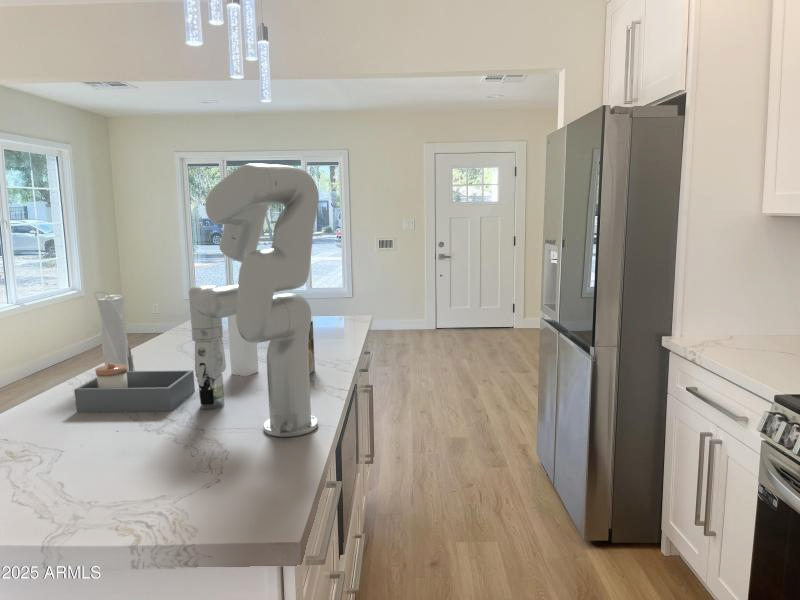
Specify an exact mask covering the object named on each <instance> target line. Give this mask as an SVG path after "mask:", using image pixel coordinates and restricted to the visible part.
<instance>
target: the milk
mask: <svg viewBox="0 0 800 600" xmlns="http://www.w3.org/2000/svg"><path fill="white" fill-rule="evenodd" d="M227 328H228V329H227V331H228V332H227V333H228V341H229V342H228V344H229V359H230V360H229V361H230V373H231V375H232V374H233V376H239V375H240V376H241V377H247V376H250V374H251V375H253V374H255V373H259V358H258V357H259V356H258V355H259V354H258V343H250V342H247V341H246V340H244V339H243V338H242V337H241V335H240V333H239V331H238V328H237V323H236V315H231V316H228V317H227Z"/></svg>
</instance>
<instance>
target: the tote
mask: <svg viewBox="0 0 800 600" xmlns="http://www.w3.org/2000/svg"><path fill="white" fill-rule="evenodd" d="M194 375H195V374H194V370H191V369H190V370H189V369H188V370H186V369H185V370H135V371H127V383H128V388H98V382H97V376H96V377H95V378H93V379H91V380H89V381H87V382H85V383H84V384H81V385H80V386H78V387H76V388H74V399H75V407H76V408H75V409H76V413H77V414H78V413H140V412H141V413H150V412H151V413H152V412H153V413H155V412H156V413H161V412H163V413H164V412H171V413H172V412H173V411H174V410H175V409H176V408H177V407H179V406H180V405H181V404H182V403H183V402H185V400H187V399H188V398H190V396H192V394H194V393H195V392H196V388H195V376H194Z"/></svg>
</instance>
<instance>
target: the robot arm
mask: <svg viewBox="0 0 800 600" xmlns="http://www.w3.org/2000/svg"><path fill="white" fill-rule="evenodd" d="M319 202H320V195H319V189H318V187H317V183H316V182H315V180H314V178H313V177H312V175H311V174H309V173H308V172H307V171H306V170H304V169H302V168H300V167H295V166H292V165H285V164H269V163H255V162H254V163H253V162H252V163H251V162H250V163H246V164H243V165H241V166H239V167H238V168H236V169H234V170H233V171H232V172H230V173H229V174H228V175H227V176H225V177H224V178H223V179H221V180H220V181H219V182H218V183H216V184H215V185H214V186H213V188H212V189H211V190H210V191H209V193H208V195H207V197H206V200H205V213H206V216H207V217H208V219H209V221H211V222H212V223H213V224H216V225H223V230H222V234H221V238H220V241H219V250H220V252H221V253H222V254H223V255H224V256H226V257H227V258H229V259H232V260H233V261H236V262H238V263H240V268H239V273H238V281H237V284H231V285H224V286H217V285H214V284H201V285H200V284H199V285H194V286H191V287H190V289H189V291H188V298H189V312H190V324H191V325H190V326H191V337H192V338H191V339H192V341H193V342H194V366H195V368H194V369H195V376H196V381H197V384H198V391H199V390H200V395H199V398H200V397H201V404H202V405H213V404H214V395H213V389H212V378H213V379H215V378H217V377H218V376H219V375H220V374H223V373H224V372H225V370H226V368H227V364H226V356H225V355H226V354H225V347H224V341H223V338H224V332H223V321H222V320H223V318H226V317H227V318H228V316H231V315H236V323H237V328H238V331H239V333H240V335H241V337H242V338H243V339H244V340H246V341H247V342H250V343H257V344H260V343H264V342H269V343H268V345H267V350H266V375H267V378H266V379H267V391H268V392H267V393H268V408H269V411H268V412H269V414H268V415H269V419H266V421H264V423H263V425H262V427H263V431H264V432H265V433H266V434H267V435H269V436H271V437H272V436H273V437H280V438H289V437H290V438H291V437H292V438H293V437H298V436H302V435H306V434H309V433H311V432H313V431H314V430H316V428H318V425H319V420H318V418H317V417H316V416H314V415H312V407H311V406H312V405H311V385H310V381H311V380H310V375H309V354H308V340H309V331H310V324H311V321H312V309H311V306H310V303H309V302H308V301H307V299H306V298H305V297H304V296H302V295H300V294H298V293H294V292H293V293H292V292H291V293H290V292H289V293H283V292H286V291H292V290H296V289H299V288H301V287H304V285H305V284H306V283H307V282H308V279H309V275H310V269H311V268H310V267H311V259H312V257H311V256H312V249H313V240H314V239H313V238H314V237H313V236H314V228H315V223H316V219H317V214H318V209H319V204H320V203H319ZM269 205H272V206H273V205H274V206H275V205H282V206H283V207H284V208H283V209H282V210H281V212H280V213H279V215H278V217H277V219H276V220H275V224H274V226H273V227H274V228H273V237H272V244H271V247H270V248H264V249H258V246H259V242H260V239H261V234H262V231H263V228H264V224H265V220H266V215H267V212H268V209H269V208H268V207H269ZM281 292H282V293H281ZM276 293H280V294H276ZM274 294H275V295H274ZM207 375H208V376H209V377H207V378H204V377H205V376H207ZM205 380H208V383H207V382H205Z"/></svg>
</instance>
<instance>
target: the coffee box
mask: <svg viewBox="0 0 800 600" xmlns="http://www.w3.org/2000/svg"><path fill="white" fill-rule="evenodd" d="M313 324H314V321H313V320H311V324H310V331H309V340H308V354H309V374H310V375H311V374H312V373H314V372H315V371H316V364H315V363H316V361H315V344H314V343H315V341H314V325H313ZM314 370H315V371H314Z"/></svg>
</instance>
